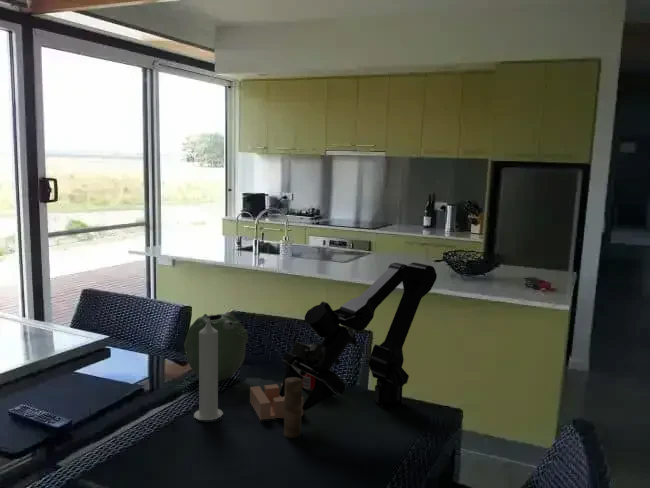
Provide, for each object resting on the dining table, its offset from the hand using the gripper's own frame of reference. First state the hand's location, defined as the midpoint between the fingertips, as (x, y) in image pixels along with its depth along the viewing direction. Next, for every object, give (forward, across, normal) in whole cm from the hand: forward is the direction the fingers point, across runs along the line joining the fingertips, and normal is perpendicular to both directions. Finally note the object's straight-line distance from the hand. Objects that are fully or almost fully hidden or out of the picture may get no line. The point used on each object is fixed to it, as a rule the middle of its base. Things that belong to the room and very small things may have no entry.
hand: (291, 402), depth 127 cm
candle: (+14, -19, -2) cm, 24 cm away
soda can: (-10, -20, +20) cm, 30 cm away
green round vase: (+5, -40, +7) cm, 41 cm away
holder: (+2, -13, +9) cm, 16 cm away
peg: (+5, 0, +6) cm, 8 cm away
